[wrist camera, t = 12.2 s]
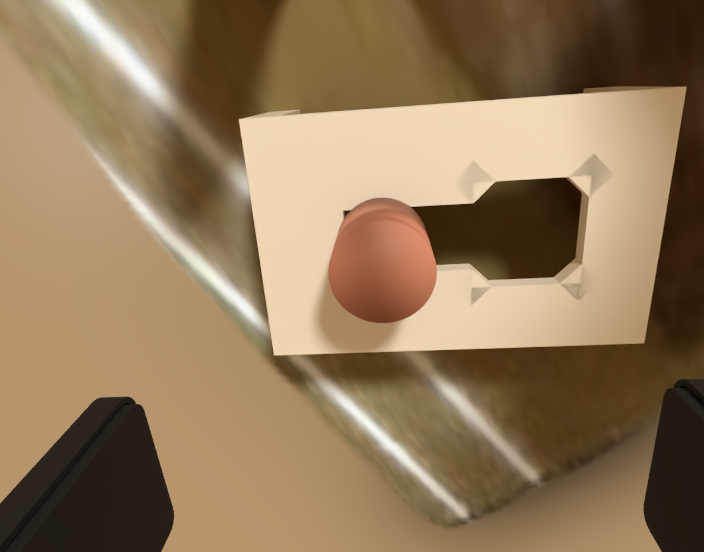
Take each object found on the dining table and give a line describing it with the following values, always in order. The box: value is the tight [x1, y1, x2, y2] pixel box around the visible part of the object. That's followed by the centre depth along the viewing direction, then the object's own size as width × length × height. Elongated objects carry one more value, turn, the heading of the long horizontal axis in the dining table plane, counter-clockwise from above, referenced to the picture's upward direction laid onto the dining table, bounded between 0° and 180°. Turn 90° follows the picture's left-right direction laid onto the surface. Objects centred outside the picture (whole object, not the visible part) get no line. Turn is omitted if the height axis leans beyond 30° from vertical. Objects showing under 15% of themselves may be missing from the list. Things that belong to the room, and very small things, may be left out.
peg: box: [328, 198, 437, 323], centre depth 28 cm, size 5×5×11 cm
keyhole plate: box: [239, 86, 687, 355], centre depth 30 cm, size 22×14×8 cm, turn 94°
